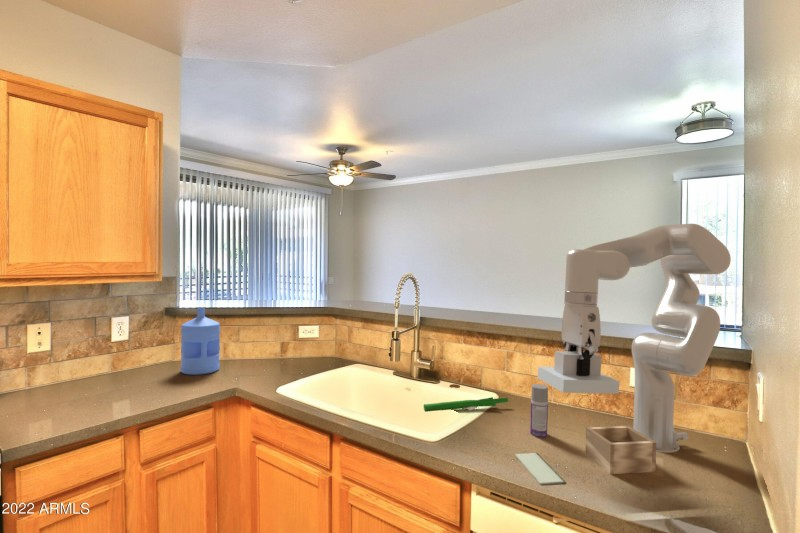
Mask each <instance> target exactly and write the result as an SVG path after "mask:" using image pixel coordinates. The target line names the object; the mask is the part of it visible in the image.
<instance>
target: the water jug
mask: <svg viewBox="0 0 800 533" xmlns="http://www.w3.org/2000/svg"><path fill="white" fill-rule="evenodd" d="M205 310H206V307H197V311H196V314H197V315H196V317H195V318H193V319H191V320H189V321H186V322H184V323H183V324H181V328H180V334H181V337H180V338H181V340H180V341H181V345H180V356H181V358H180V359H181V360H180V364H181V365H180V372H181V373H182V374H184V375H189V376H199V375H205V374H211V373H214V372H217V371H218V370H219V369H220V367H221V366H220V365H221V363H220V351H221V350H220V349H221V344H220V341H221V340H220V337H221V336H220V335H221V334H220V333H221V326H220V322H218V321H216V320H213V319H211V318H208V317H207V316H206V315H205V314H206V311H205Z"/></svg>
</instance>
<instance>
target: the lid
mask: <svg viewBox="0 0 800 533" xmlns="http://www.w3.org/2000/svg"><path fill="white" fill-rule="evenodd" d="M554 352H555V353H554V363H553V364H554V365H553V366H538V367H537V379H539V380H540V381H542V382H544V383H546V385H548V386H551V387H552V388H554V389H556V390H558V391H559V392H561V393H564V394H566V393H567V394H615V395H616V394H617V395H619V394H620V380H618V379H616V378H613V377H611V376H608V375H606V374H604V373H602V358H603V356H602V355H600V354H598V353H595V354H594V355H593V356H592V360H590V375H589V376H578V375H577V374H576V372H577V359H579V351H578V352H571V351H565V350H555V351H554ZM583 353H584V351H583Z"/></svg>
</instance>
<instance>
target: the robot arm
mask: <svg viewBox="0 0 800 533" xmlns="http://www.w3.org/2000/svg"><path fill="white" fill-rule="evenodd" d="M566 253H567V254H566V260H565V282H564V308H563V311H562V320H561V342H562V344H563V346H564V349H565V350H564V351H571V352H579V359H577V372H576V374H577V375H578V376H589V375H590V360H592V356H593V355H594V354H597V352H599V347H600V346H601V334H602V333H601V314H600V309H599V306H598V296H599V280H600V281H601V280H602V281H619V280H620V279H623V278H624V277H626V275H628V274H629V271H630V269H631V268H636V267H637V268H638V267H644V266H648V265H649V264H652V263H654V262H657V261H659V260H660V265H661V268H662V271H663V275H664V280H665V289H664V291H663V293H662V296H661V297H660V300H659V302H658V304H657V306H656V307H655V310H654V312H653V315H652V317H651V326H652V327H653V329H654V330H655V331H656V332H659V333H656V332H643V333H640V334H638V335H636V336H635V337H634V338H633V340H632V342H631V356H632V360H633V361H632V362H633V368H634V394H633V400H634V401H633V425H632V426H633V427H632V429H634V430H636V431H637V432H639V433H641V434H643V435H644V436H646V437H648V438H649V439H651V440H653V441H654V442H656V453H669V454H670V453H676V452H678V451H679V450H680V446H679V444H678V443H677V442H678V441H684V440H689V434H688V433H687V432H683V431H682V432H677V431H676V430H675V429H674V416H675V415H674V412H675V411H674V410H675V384H674V380H673V378H672V376H671V374H670V373H674V374H679V375H681V376H688V377H693V376H698V375H699V374H700V373H701V372H702V371H703V370H704V368H705V366H706V364H707V362H708V359H709V358H710V355H711V353H712V352H713V351H712V350H713V349H714V346H715V344H716V342H717V339H718V337H719V333H720V330H721V319H720V315H719V313H718V312H717V311H716V309H714V308H713V307H712V306H711V307H710V306H707V305H702V304H698V301H699V299H700V296H701V294H700V290H699V286H697V284H696V283H695V282H694V280H693V279H692V277H691V275H690V274H692V275H719V274H722V273H725V272H726V271H727V270H728V269H729V267H730V265H731V261H732V260H731V253H730V251H729V249H728V248H727V247H726V245H725V244H724V243H723V242H722V241H720V240H719V239H718V238H717V237H716V236H715V235H714V234H713V233H712V232H710V230H708V229H707V228H705V227H704V226H702V225H699V224H697V223H681V224H680V223H678V224H667V225H666V224H665V225H659V226H656V227H654V228H650V229H649V230H645V231H643V232H640V233H638V234H635V235H632V236H628V237H623V238H619V239H616V240H612V241H606V242H603V243H599V244H596V245H592V246H589V247H586V248H584V249H583V248H582V249H570V250H569V251H568V252H566ZM583 352H584V353H583Z"/></svg>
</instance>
